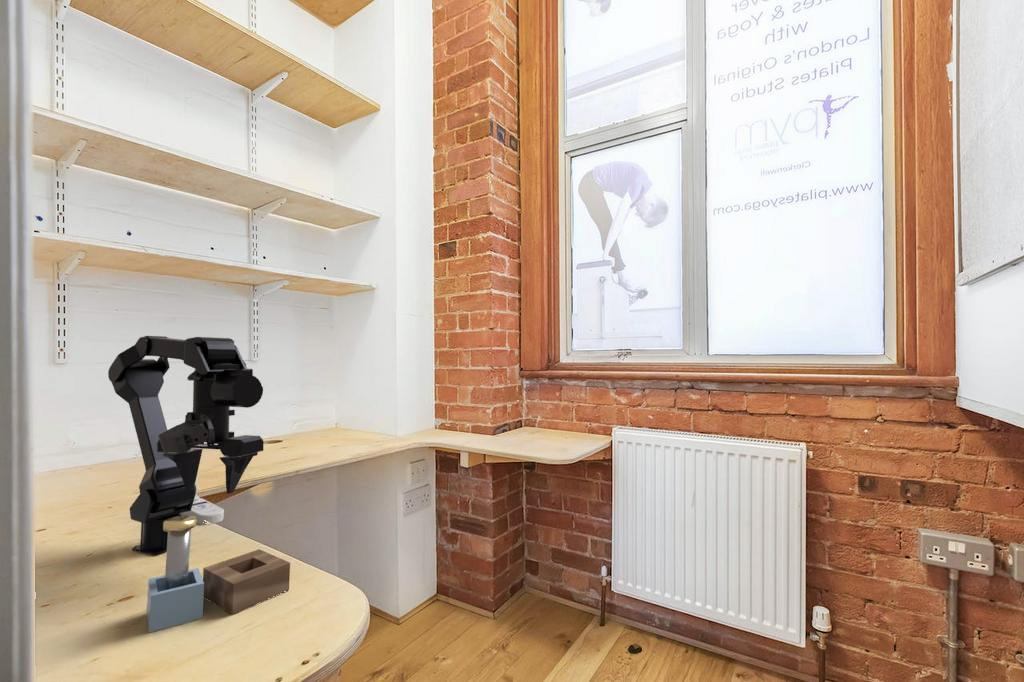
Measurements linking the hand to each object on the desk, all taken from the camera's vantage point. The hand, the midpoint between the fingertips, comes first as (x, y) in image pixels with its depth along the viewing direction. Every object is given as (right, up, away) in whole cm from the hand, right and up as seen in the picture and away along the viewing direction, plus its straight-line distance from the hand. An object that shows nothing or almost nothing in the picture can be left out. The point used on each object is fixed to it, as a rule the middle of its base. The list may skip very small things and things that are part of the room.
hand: (209, 491), depth 88 cm
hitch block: (+12, -13, -11) cm, 21 cm away
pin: (+6, -13, -17) cm, 22 cm away
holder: (+6, -13, -17) cm, 22 cm away
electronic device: (-17, -14, +24) cm, 32 cm away
